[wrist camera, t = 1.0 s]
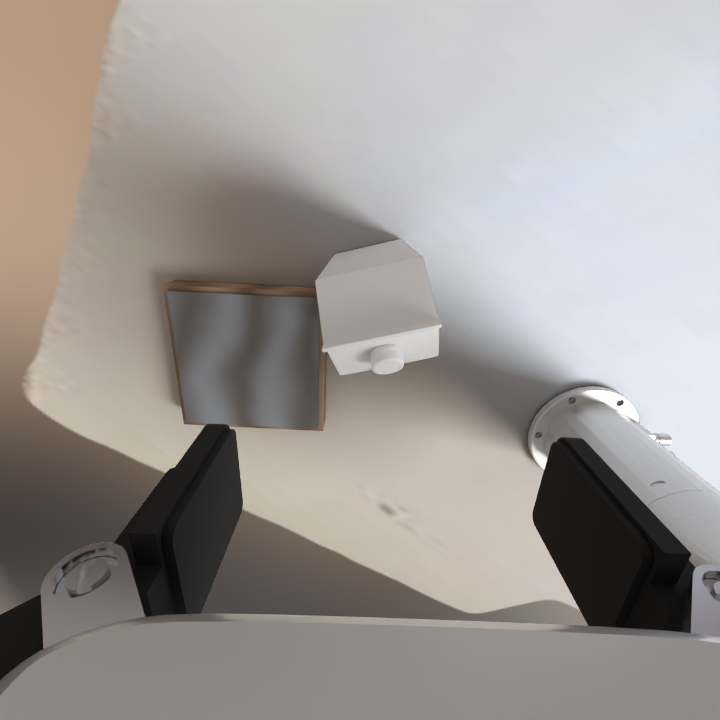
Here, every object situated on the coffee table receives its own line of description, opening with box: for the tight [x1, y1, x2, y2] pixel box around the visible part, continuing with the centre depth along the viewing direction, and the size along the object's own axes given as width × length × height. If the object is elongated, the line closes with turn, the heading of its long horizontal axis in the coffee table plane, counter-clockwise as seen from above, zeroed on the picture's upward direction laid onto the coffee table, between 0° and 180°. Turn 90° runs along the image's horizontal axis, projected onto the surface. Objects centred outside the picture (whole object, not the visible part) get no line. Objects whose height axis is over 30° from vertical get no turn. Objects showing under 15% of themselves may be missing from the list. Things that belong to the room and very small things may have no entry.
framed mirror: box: [163, 280, 326, 431], centre depth 41 cm, size 16×16×3 cm
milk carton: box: [315, 239, 442, 375], centre depth 31 cm, size 7×7×19 cm
